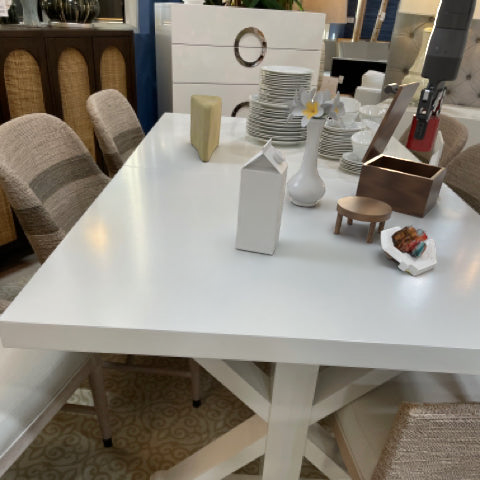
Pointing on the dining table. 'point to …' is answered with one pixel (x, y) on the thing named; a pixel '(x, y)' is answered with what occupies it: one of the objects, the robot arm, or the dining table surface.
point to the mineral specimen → (409, 249)
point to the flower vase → (311, 142)
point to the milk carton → (261, 201)
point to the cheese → (205, 124)
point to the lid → (391, 118)
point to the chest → (401, 184)
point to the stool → (363, 213)
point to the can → (429, 137)
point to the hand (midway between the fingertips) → (422, 136)
